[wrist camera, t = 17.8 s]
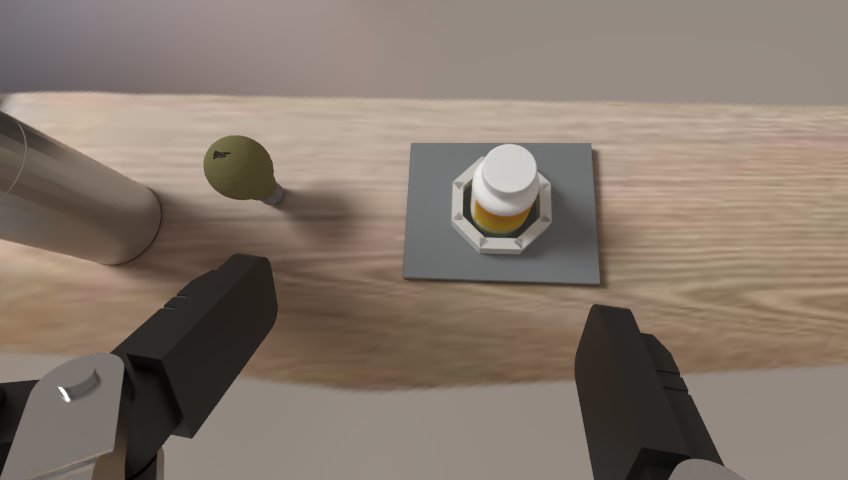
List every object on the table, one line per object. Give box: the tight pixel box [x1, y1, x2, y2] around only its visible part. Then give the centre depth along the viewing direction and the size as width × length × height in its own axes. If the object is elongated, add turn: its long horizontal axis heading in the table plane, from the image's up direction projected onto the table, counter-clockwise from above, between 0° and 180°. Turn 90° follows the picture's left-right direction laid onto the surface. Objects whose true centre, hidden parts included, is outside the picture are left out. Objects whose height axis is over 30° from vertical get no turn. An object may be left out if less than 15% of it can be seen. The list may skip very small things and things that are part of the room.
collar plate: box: [403, 143, 600, 285], centre depth 39 cm, size 18×14×3 cm
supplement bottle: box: [470, 144, 540, 237], centre depth 35 cm, size 5×5×10 cm
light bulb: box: [204, 136, 283, 205], centre depth 38 cm, size 6×6×10 cm
